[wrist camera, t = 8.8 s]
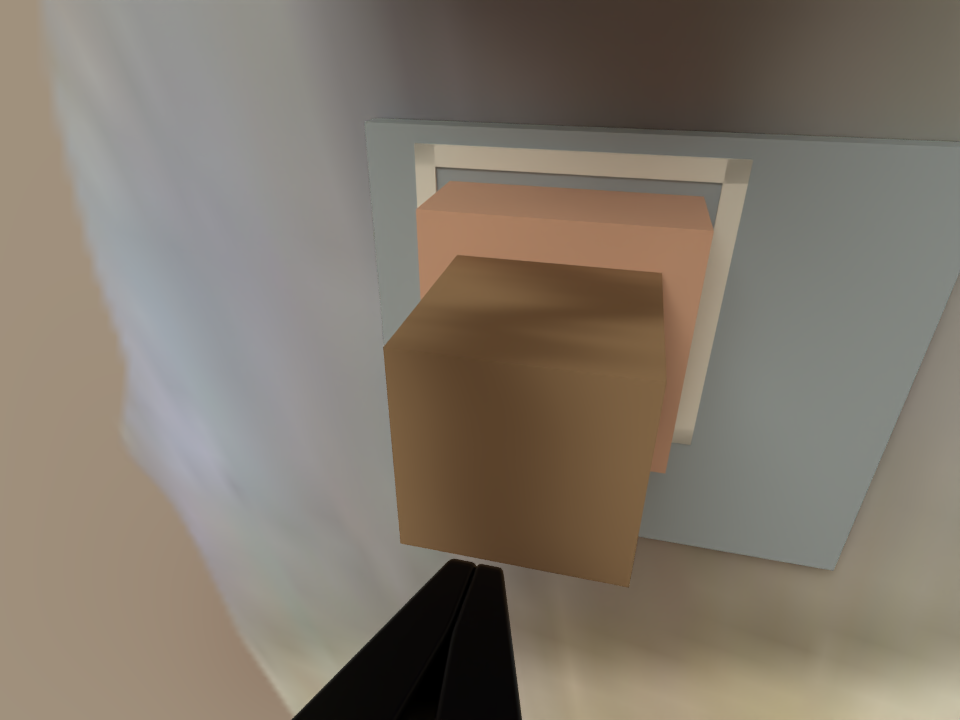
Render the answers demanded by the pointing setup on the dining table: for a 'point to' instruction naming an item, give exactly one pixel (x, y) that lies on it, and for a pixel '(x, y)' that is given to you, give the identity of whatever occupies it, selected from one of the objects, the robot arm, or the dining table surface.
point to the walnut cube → (528, 414)
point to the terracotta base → (582, 250)
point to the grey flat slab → (738, 302)
